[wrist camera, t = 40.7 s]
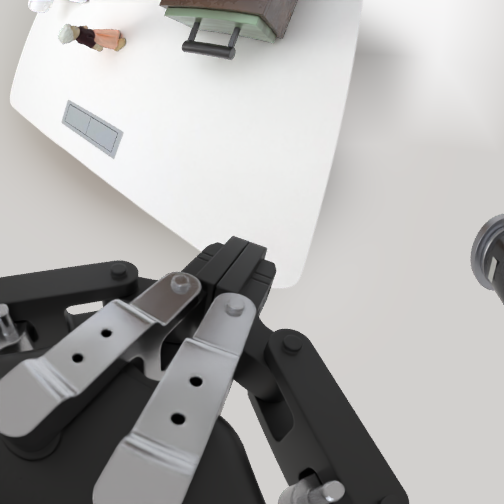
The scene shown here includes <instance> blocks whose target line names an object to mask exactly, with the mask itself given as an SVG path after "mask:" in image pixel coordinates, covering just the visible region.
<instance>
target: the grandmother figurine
mask: <svg viewBox="0 0 504 504" xmlns="http://www.w3.org/2000/svg"><path fill="white" fill-rule="evenodd" d="M119 36H120V32H119V31H118V30H113V29H94V30H92V29H88V27H87V26H80V27H77V26H71V25H70V24H66V25H64V26H63V28H62V29H61V30H60V32H59V35H58V38H59V40H60V41H61V43H62V44H65V43H70V42H71V41H73V40H75V39H76V40H77V41H78V43H80V44H84V45H86V46H88V47H90V48H93V49H95V50H97V51H102V50H103V47H105V48H110V49H114V50H115V51H118V50H120V49H121V48H123V47H124V45H125V43H126V41H125V39H124V38H121V39H119Z"/></svg>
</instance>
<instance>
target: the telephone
mask: <svg viewBox="0 0 504 504" xmlns="http://www.w3.org/2000/svg"><path fill="white" fill-rule="evenodd" d="M70 1H73V2H78V3H84V2H86V1H87V0H70ZM52 3H53V0H29V3H28V7H29V8H30V9H31V10H32V11H34V12H39V13H45V12H47V11H48V10H49V9H50V7H51V6H52Z"/></svg>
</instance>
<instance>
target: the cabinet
mask: <svg viewBox="0 0 504 504" xmlns="http://www.w3.org/2000/svg"><path fill="white" fill-rule="evenodd" d="M297 1H298V0H161V2H160V6H162V7H164V8H166V9H167V8H204V9H215V10H225V11H233V12H240V13H246V14H252V15H258V16H259V17H260V18H261V19H262V20H263V21H264V22H265V23H266V24H267V25H268V27H269V28H270V29H271V30H272V31H273V32H274V34H275V35H276V37H278V38H282V39H283V36H284V34H285V31H286V28H287V26H288V23H289V21H290V18H291V16H292V13H293V11H294V8H295V6H296V3H297Z"/></svg>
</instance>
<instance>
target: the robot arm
mask: <svg viewBox="0 0 504 504" xmlns="http://www.w3.org/2000/svg"><path fill="white" fill-rule="evenodd" d="M266 251H267V248H266V247H263V246H260V245H257V244H254V243H252V242H249V241H246V240H243V239H241V238H238V237H235V236H232V237H231V238H230V239H229V240H228V241H227V242H226V244H225V245H223V244H221V243H218V242H217V243H215V244H212V245H209V246H207V247H206V248H205V249H204V250H203V251H202V253H200V254H199V255H198V256H197V258H195V259H194V260H193V261H191V262H190V263H189V264H188V266H186V267H185V268H184V269H183V270H182V271H181V272H172V273H168V274H166V275H165V276H163V277H162V278H161V279H159V280H152V279H147V278H142V277H138V270H137V268H136V266H134V265H133V264H131V263H129V262H126V261H110V262H104V263H97V264H89V265H82V266H75V267H68V268H61V269H54V270H48V271H41V272H34V273H28V274H21V275H14V276H7V277H1V278H0V504H266V503H265V501H264V498H263V496H262V493H261V491H260V488H259V486H258V483H257V481H256V478H255V475H254V473H253V470H252V468H251V465H250V462H249V460H248V457H247V454H246V451H245V449H244V446H243V444H242V442H241V440H240V438H239V436H238V435H237V433H236V432H235V430H234V429H233V428H232V427H231V425H230V424H229V423H228V422H227V421H226V420H225V419H223V417H221V416H220V415H221V412H222V409H223V406H224V404H225V401H226V398H227V396H228V393H229V390H230V388H231V385H232V382H233V379H234V380H235V381H236V382H238V383H239V384H240V385H242V386H243V387H244V388H245V389H247V390H248V396H249V399H250V401H251V404H252V406H253V408H254V411H255V413H256V415H257V418H258V420H259V422H260V425H261V427H262V429H263V432H264V434H265V436H266V438H267V440H268V443H269V445H270V447H271V449H272V451H273V454H274V456H275V458H276V460H277V462H278V464H279V466H280V468H281V471H282V473H283V475H284V477H285V479H286V481H287V483H288V485H289V487H288V488H287V489H285V490H284V491H283V492H282V494H281V495H280V497H279V500H278V504H409V499H408V496H407V494H406V492H405V490H404V489H403V487H402V486H401V484H400V482H399V481H398V479H397V478H396V476H395V474H394V473H393V471H392V470H391V468H390V467H389V465H388V463H387V462H386V460H385V459H384V457H383V456H382V454H381V452H380V451H379V449H378V448H377V446H376V445H375V443H374V441H373V440H372V438H371V437H370V435H369V433H368V432H367V430H366V429H365V427H364V425H363V424H362V422H361V421H360V419H359V418H358V416H357V414H356V413H355V411H354V410H353V408H352V406H351V405H350V403H349V402H348V400H347V398H346V397H345V395H344V394H343V392H342V390H341V389H340V387H339V386H338V384H337V383H336V381H335V379H334V378H333V376H332V375H331V373H330V372H329V370H328V369H327V367H326V365H325V364H324V362H323V360H322V359H321V357H320V356H319V354H318V353H317V351H316V349H315V348H314V346H313V345H312V343H311V342H310V340H309V339H308V338H307V337H306V336H305V335H303V334H301V333H300V332H298V331H295V330H291V329H280V330H277V331H275V332H273V331H272V330H270V329H269V328H267V327H266V326H265V325H264V324H263V323H262V322H261V320H260V319H259V315H260V313H261V311H262V309H263V306H264V304H265V302H266V300H267V297H268V294H269V291H270V288H271V285H272V282H273V279H274V276H275V273H276V268H275V264H274V263H272V262H270V261H267V260H264V258H265V255H266ZM481 268H482V272H483V275H484V276H485V278H486V279H487V281H488V282H489V283H490V284H491V285H492V287H493V288H494V290H495V292H496V293H497V295H498V296H499V298H500V299H501V301H502V303H503V304H504V227H502V228H500V229H498V230H497V231H496V232H495V233H493V234H492V236H491V237H490V238H489V240H488V241H487V243H486V245H485V247H484V249H483V253H482V257H481ZM97 301H102V302H103V308H102V309H100V310H99V311H94V312H88V313H83V314H77V315H72V314H70V313H68V312H67V310H66V308H68V307H70V306H73V305H79V304H85V303H91V302H97Z"/></svg>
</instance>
